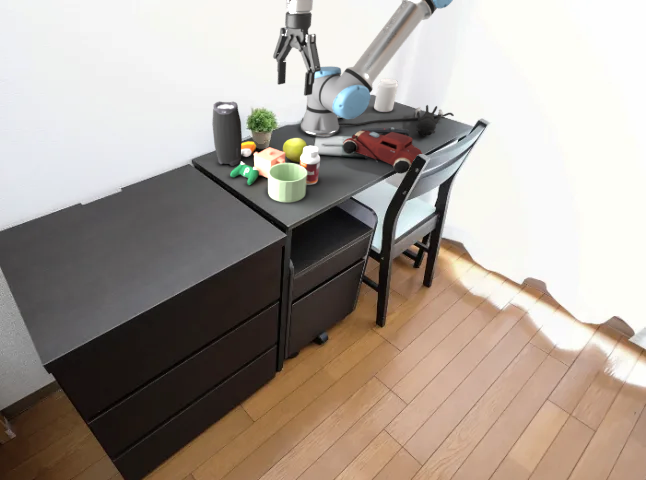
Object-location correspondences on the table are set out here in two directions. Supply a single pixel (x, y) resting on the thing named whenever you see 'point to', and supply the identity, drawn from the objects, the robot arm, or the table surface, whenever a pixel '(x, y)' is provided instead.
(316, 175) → the pill bottle
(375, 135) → the toy car
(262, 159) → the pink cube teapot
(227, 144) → the portable speaker
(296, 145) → the apple
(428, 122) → the toy
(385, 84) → the white cylindrical container
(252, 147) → the candy corn
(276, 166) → the light green bowl
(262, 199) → the table surface
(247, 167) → the gaming controller
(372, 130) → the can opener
